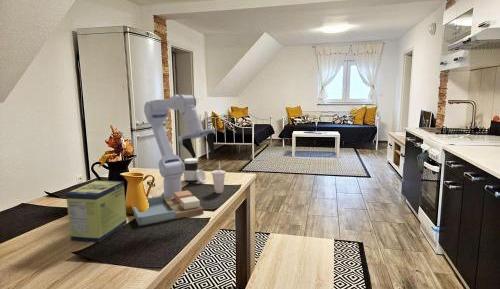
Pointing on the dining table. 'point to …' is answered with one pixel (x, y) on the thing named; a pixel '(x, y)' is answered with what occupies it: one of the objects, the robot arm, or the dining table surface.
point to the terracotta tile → (182, 195)
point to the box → (154, 212)
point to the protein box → (96, 210)
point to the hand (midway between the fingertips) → (203, 155)
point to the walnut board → (181, 208)
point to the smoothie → (218, 180)
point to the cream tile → (189, 202)
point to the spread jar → (193, 171)
